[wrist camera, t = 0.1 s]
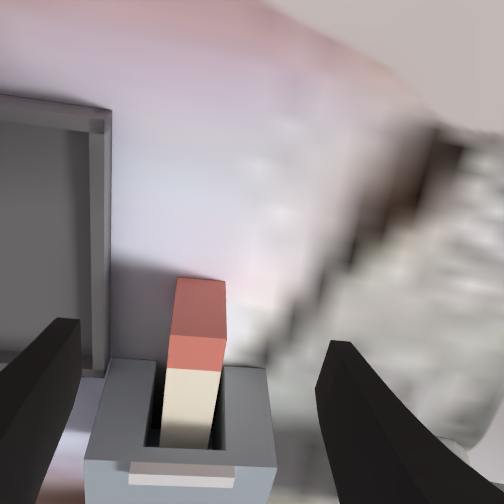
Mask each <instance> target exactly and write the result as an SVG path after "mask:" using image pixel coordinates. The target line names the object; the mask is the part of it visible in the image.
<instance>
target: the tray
mask: <svg viewBox="0 0 504 504" xmlns="http://www.w3.org/2000/svg"><path fill="white" fill-rule="evenodd" d="M111 174H112V110H105V109H98V108H91V107H85V106H78V105H71V104H64V103H57V102H50V101H44V100H37V99H30V98H23V97H16V96H10V95H3V94H0V371H1V370H2V369H3V368H5V367H6V366H7V365H8V364H9V363H10V362H11V361H12V360H13V359H14V358H15V357H16V356H18V355H19V354H20V353H21V352H22V351H23V350H24V349H25V348H26V347H27V346H28V345H29V344H30V343H31V342H32V341H33V340H34V339H35V338H36V337H37V336H38V335H39V334H40V333H41V332H42V331H43V330H44V329H45V328H46V327H47V326H48V325H49V324H50V323H51V322H52V321H53V320H54V319H56V318H57V317H60V318H72V319H80V323H81V356H82V375H81V377H93V378H104V377H105V374H106V370H107V367H108V363H109V360H110V281H111Z"/></svg>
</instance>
